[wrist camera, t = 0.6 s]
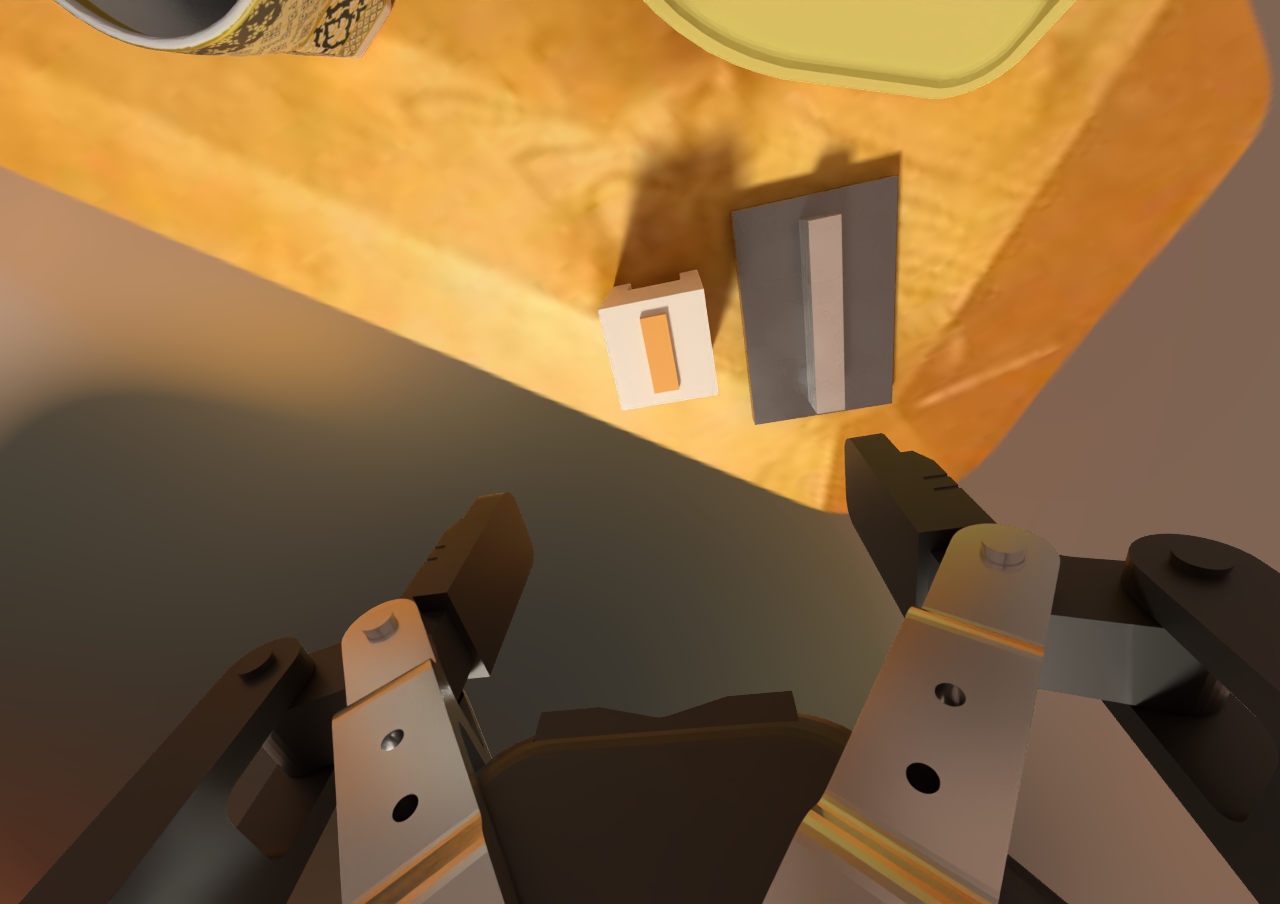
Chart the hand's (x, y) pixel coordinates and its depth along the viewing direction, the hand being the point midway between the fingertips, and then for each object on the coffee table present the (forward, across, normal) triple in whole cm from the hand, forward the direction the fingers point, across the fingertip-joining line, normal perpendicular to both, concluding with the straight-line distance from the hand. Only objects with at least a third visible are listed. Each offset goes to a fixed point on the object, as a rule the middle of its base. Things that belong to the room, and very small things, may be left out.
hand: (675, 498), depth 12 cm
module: (+19, +1, 0) cm, 19 cm away
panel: (+19, -8, +1) cm, 20 cm away
